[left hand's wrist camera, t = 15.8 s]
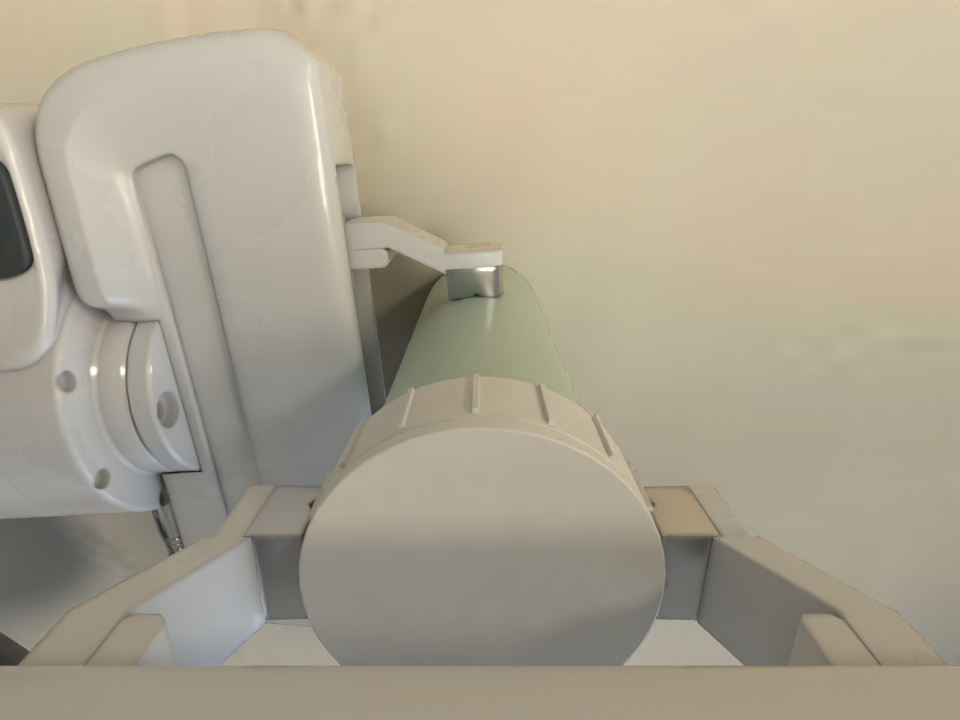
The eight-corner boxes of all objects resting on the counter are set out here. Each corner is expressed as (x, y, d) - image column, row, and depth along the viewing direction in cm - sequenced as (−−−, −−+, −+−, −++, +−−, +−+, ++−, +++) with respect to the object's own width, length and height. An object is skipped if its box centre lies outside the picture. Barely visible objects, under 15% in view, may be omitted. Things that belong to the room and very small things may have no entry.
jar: (563, 322, 24) (691, 574, 9) (478, 393, 25) (472, 713, 10) (485, 235, 22) (493, 370, 8) (399, 315, 24) (270, 558, 9)
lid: (522, 308, 9) (533, 347, 7) (688, 542, 11) (732, 622, 9) (264, 484, 10) (216, 557, 8) (450, 668, 12) (445, 763, 10)
